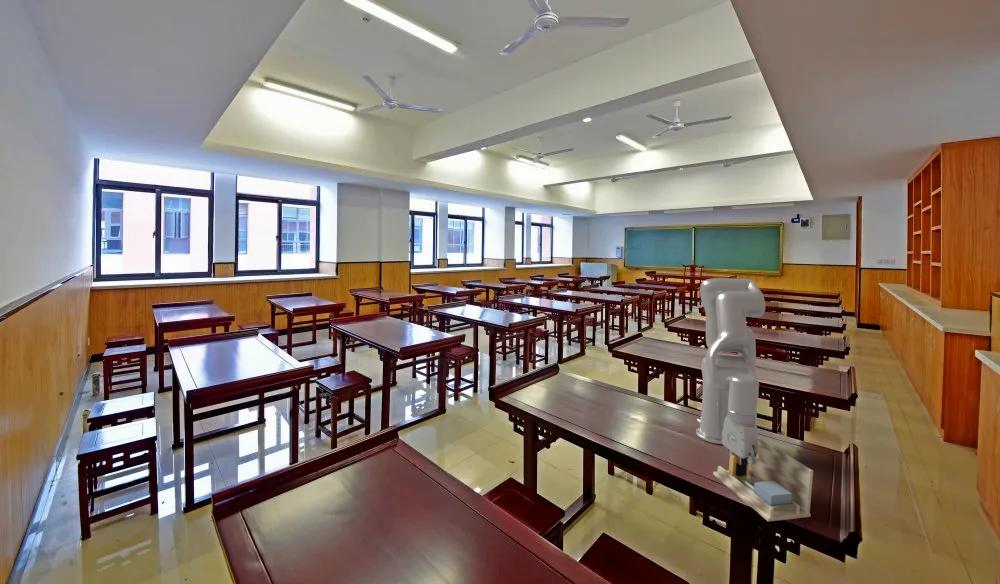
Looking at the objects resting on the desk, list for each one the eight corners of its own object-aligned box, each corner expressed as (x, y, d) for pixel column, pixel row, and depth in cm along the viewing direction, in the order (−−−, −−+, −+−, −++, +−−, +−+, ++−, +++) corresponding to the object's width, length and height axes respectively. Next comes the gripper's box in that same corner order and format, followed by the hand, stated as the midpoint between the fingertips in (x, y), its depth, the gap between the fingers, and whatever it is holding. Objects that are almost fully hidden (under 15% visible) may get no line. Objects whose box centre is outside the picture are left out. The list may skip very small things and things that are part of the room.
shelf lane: (713, 474, 129) (715, 435, 127) (748, 470, 130) (751, 432, 129) (768, 521, 107) (771, 475, 105) (810, 516, 109) (814, 471, 107)
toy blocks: (726, 477, 125) (728, 454, 124) (744, 475, 126) (746, 452, 125) (770, 512, 109) (772, 486, 108) (790, 510, 110) (792, 484, 109)
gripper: (713, 406, 130) (710, 460, 132) (749, 428, 114) (745, 489, 116) (734, 405, 131) (731, 458, 133) (773, 426, 115) (769, 487, 117)
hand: (738, 472), depth 125 cm, fingers closed on toy blocks
